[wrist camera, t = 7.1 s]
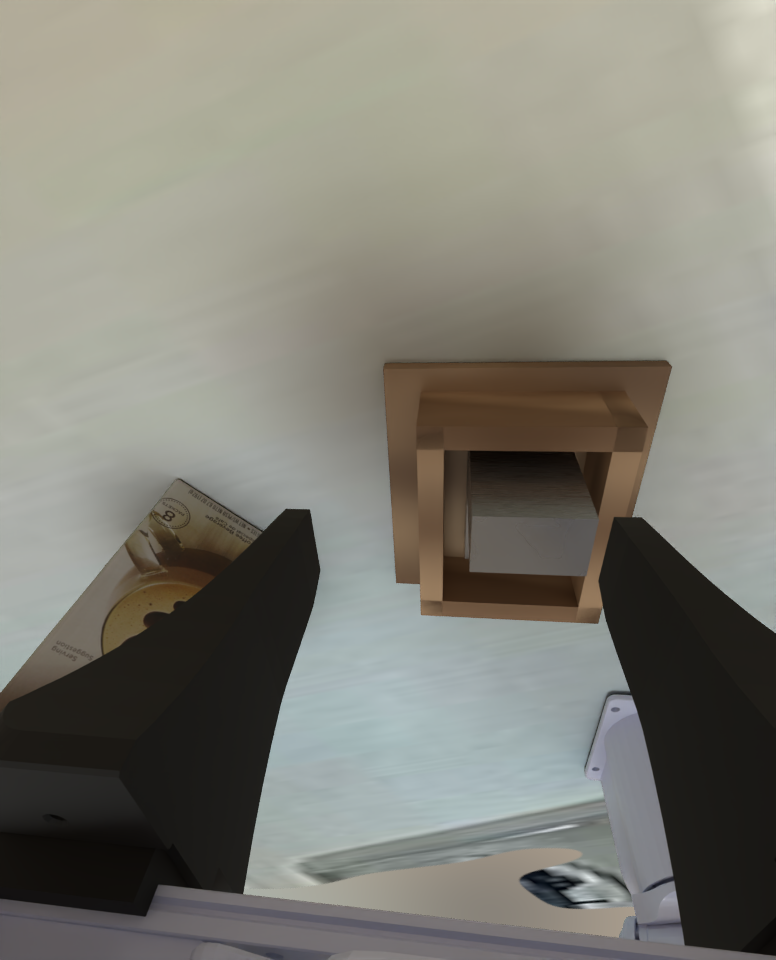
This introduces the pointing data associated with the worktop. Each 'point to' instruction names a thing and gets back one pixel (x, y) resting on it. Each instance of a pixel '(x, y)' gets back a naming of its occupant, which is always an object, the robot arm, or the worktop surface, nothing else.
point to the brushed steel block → (528, 513)
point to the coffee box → (139, 584)
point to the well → (511, 427)
